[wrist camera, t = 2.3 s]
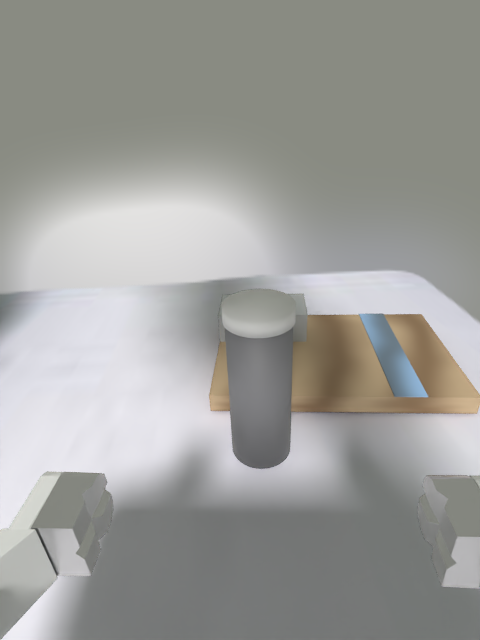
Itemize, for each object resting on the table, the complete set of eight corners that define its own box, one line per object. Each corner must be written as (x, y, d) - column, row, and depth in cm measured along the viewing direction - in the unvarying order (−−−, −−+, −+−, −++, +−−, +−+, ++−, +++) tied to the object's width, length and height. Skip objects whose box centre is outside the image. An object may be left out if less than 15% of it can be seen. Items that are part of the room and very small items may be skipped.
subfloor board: (210, 410, 31) (209, 394, 30) (225, 327, 43) (225, 314, 42) (476, 413, 30) (482, 396, 29) (419, 327, 41) (421, 313, 40)
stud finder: (219, 341, 37) (217, 313, 36) (224, 319, 41) (222, 293, 40) (306, 341, 37) (307, 313, 35) (302, 318, 41) (303, 292, 39)
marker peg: (228, 469, 26) (217, 322, 21) (233, 423, 30) (225, 289, 25) (293, 470, 26) (298, 321, 21) (290, 424, 30) (293, 288, 24)
